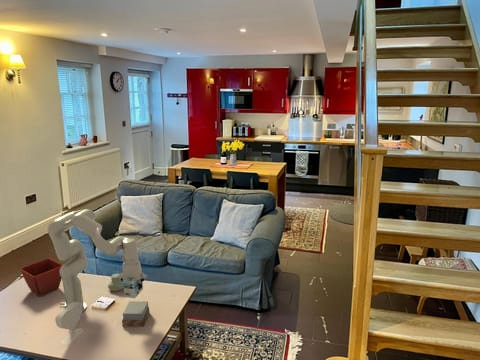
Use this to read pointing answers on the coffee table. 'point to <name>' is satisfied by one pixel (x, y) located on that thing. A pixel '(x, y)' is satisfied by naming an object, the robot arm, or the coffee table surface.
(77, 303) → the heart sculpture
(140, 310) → the tower top block
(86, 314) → the coffee table surface
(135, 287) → the light bulb box
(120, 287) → the air freshener
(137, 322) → the tower base block
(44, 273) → the plant pot
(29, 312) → the coffee table surface
